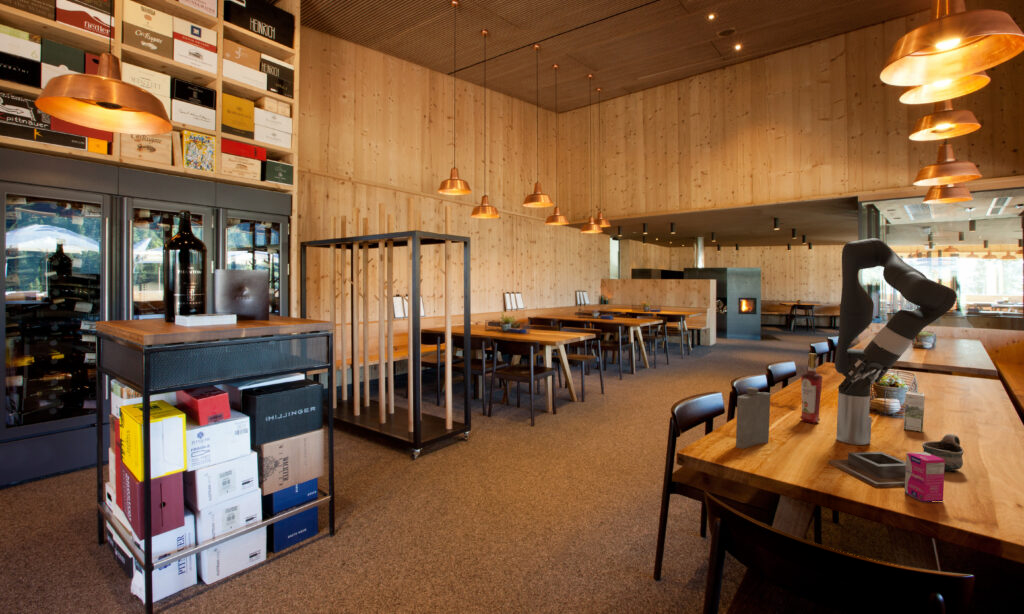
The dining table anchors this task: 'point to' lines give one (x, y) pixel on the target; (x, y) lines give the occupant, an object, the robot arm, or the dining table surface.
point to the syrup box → (914, 411)
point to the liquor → (811, 392)
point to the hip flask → (752, 418)
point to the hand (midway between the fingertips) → (849, 391)
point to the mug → (946, 451)
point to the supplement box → (924, 476)
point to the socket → (874, 468)
